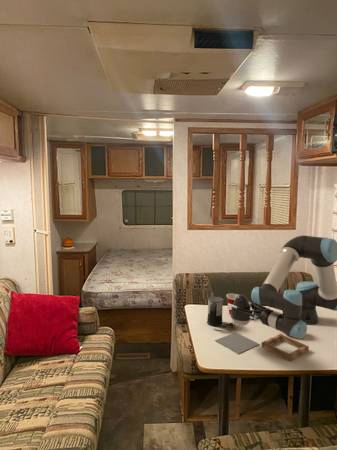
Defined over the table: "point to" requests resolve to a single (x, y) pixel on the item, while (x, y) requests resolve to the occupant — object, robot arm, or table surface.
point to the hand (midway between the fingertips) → (234, 303)
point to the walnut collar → (289, 357)
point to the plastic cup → (231, 299)
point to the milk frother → (216, 312)
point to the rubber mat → (237, 343)
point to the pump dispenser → (242, 304)
